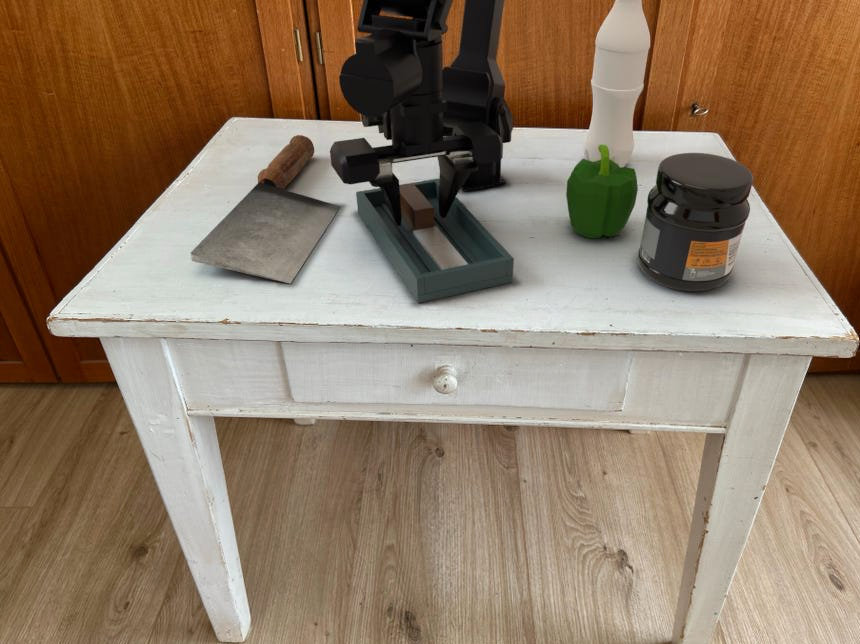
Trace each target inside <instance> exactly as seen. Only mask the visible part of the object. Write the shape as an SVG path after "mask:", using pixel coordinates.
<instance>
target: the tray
mask: <svg viewBox="0 0 860 644" xmlns="http://www.w3.org/2000/svg"><path fill="white" fill-rule="evenodd" d="M408 184H414V185H415V186H416V187H417V189H418V190H419V191H420V192H421V193H422V194H423V196H424V197H425V198H426V199H427V200H428V201H429V202H430V204H431V205H432V206H433V207H434V227H436V226H437V227H438V229H439V230H440V231H441V232H442V233H443V235H444V236H445V237H446V238H447V239H448V241H449V242H450V243H451V244H452V245H453V247H454V248H455V249H456V250H457V251H458V253H459V254H460V255H461V256H462V257H463V259H464V260H465V261H466V262H467V263H468V264H467V265H462V266H457V267H453V268H448V269H443V270H440V269H439V267H438V266H437V265H436V263H435V262H434V261H433V259H432V258H431V257H430V255H429V254H428V253H427V252H426V250H425V249H424V248H423V246H422V245H421V244H420V242H419V241H418V240H417V239H416V237H415V236H414V235H413V230H412V228H411V227H410V226H409V225H408V223H407V222H406V221H405V219H404V218H403V217H402V220H401V226H397V225H396V223H395V221H394V219H393V217H392V214H391V212H390V210H389V207H388V205H387V203H386V200H385V198H384V196H383V193H382V191H381V189H380V188H379V187H376V188H371V189H365V190H360V191H356V192H355V195H356V205H357V214H358V216H359V218H360V219H361V220H362V222H363V223H364V225H365V226H366V228H367V229H368V231H369V232H370V234H371V235H372V237H373V238H374V240H375V241H376V242H377V245H378V246H379V248H380V249H381V250H382V252H383V253H384V254H385V257H386V258H387V259H388V260H389V262H390V263H391V265H392V266H393V268H394V269H395V271H396V272H397V274H398V276H399V277H400V279H401V281H403V283H404V285H405V286H406V288H407V289H408V291H409V293H410V294H411V296H413V298H414V299H415V301H416V302H417V304H421V303H426V302H430V301H435V300H439V299H443V298H448V297H453V296H457V295H462V294H467V293H471V292H475V291H479V290H483V289H488V288H494V287H497V286H501V285H507V284H511V283H513V278H514V277H513V276H514V262H515V259H514V257H513V256H512V255H511V254H510V252H508V250H506V248H504V247H503V245H502V244H501V243H500V242H499V241H498V240H497V239H496V238H495V237H494V236H493V234H492V233H490V232H489V230H488V229H487V228H486V227H485V226H484V225H483V224H482V223H481V222H480V221H479V219H477V217H476V216H474V214H472V212H471V211H470V210H469V209H468V207H466V206H465V205H464V204H463V202H461V200H460V199H459V198H458V197H457V196H456V197H455V199H454V201H453V203H452V205H451V207H450V209H449V211H448V213H447V215H446V217H445V218H442V217H441V216H440V215H439V204H438V200H439V177H438V178H433V179H426V180H421V181H414V182H409V183H408V182H407V183H403V184H399V186H402V185H408Z"/></svg>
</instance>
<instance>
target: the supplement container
mask: <svg viewBox="0 0 860 644" xmlns="http://www.w3.org/2000/svg"><path fill="white" fill-rule="evenodd" d="M753 183H754V175H753V173H752V171H751V170H750V169H749V168H748V167H747V166H745V165H744V164H742V163H740V162H738V161H736V160H734V159H731V158H729V157H725V156H721V155H717V154H712V153H704V152H683V153H682V152H681V153H677V154H673V155H670V156H667V157H665V158H664V159H663V160H661V161H660V163H659V164H658V167H657V172H656V178H655V184H654V186H653V187H652V188H651V189H650V191H649V192H648V195H647V200H646V202H647V207H646V212H645V218H644V223H643V229H642V235H641V238H640V245H639V248H638V251H637V263H638V266H639V268H640V270H641V271H642V273H643V274H644V275H645V276H647V277H648V279H650V280H652V281H653V282H655V283H657V284H659V285H661V286H663V287H666V288H669V289H672V290H676V291H684V292H704V291H709V290H713V289H716V288H719V287H720V286H722V285H724V284H725V283H726V282H727V281H728V280H729V279H730V277H731V276H732V273H733V270H734V265H735V260H736V257H737V254H738V251H739V246H740V243H741V239H742V236H743V232H744V229H745V225H746V222H747V220H748V219H749V217H750V214H751V213H750V212H751V206H750V202H749V200H748V198H749V197H750V193H751V189H752V187H753Z"/></svg>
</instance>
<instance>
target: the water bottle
mask: <svg viewBox="0 0 860 644" xmlns="http://www.w3.org/2000/svg"><path fill="white" fill-rule="evenodd" d="M642 3H643V1H642V0H615V1H614V2H613V6H612V7H611V9H610V11H609V12H608V14H607V15H606V17H605V19H604V20H603V22H602V24H601V26H600V27H599V29H598V32H597V34H596V37H595V43H594V44H595V49H594V56H593V57H594V58H593V69H592V75H591V76H592V77H591V79H590V85H591V91H592V110H591V111H592V112H591V113H592V114H591V119H590V124H589V128H588V131H587V133H586V135H585V137H584V140H583V156H584V159H585V160H589V161H592V162H594V161H598V160H601V152H599V149H598V146H599V145H606V146H607V147H608V149H609V159H610V160H612V161H613V162H615V163H617V164H618V165H619V167H626V165H627V163H628V162H629V161H630V159H631V158H632V154H633V151H634V148H635V141H634V130H633V129H634V126H633V125H634V114H635V109H636V105H637V102H638V99H639V96H640V95H641V93H642V91H643V90H644V86H645V84H644V80H645V74H646V68H647V61H648V55H649V51H650V50H649V49H650V48H651V33H650V29H649V25H648V22H647V19H646V15H645V12H644V10H643V4H642Z"/></svg>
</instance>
